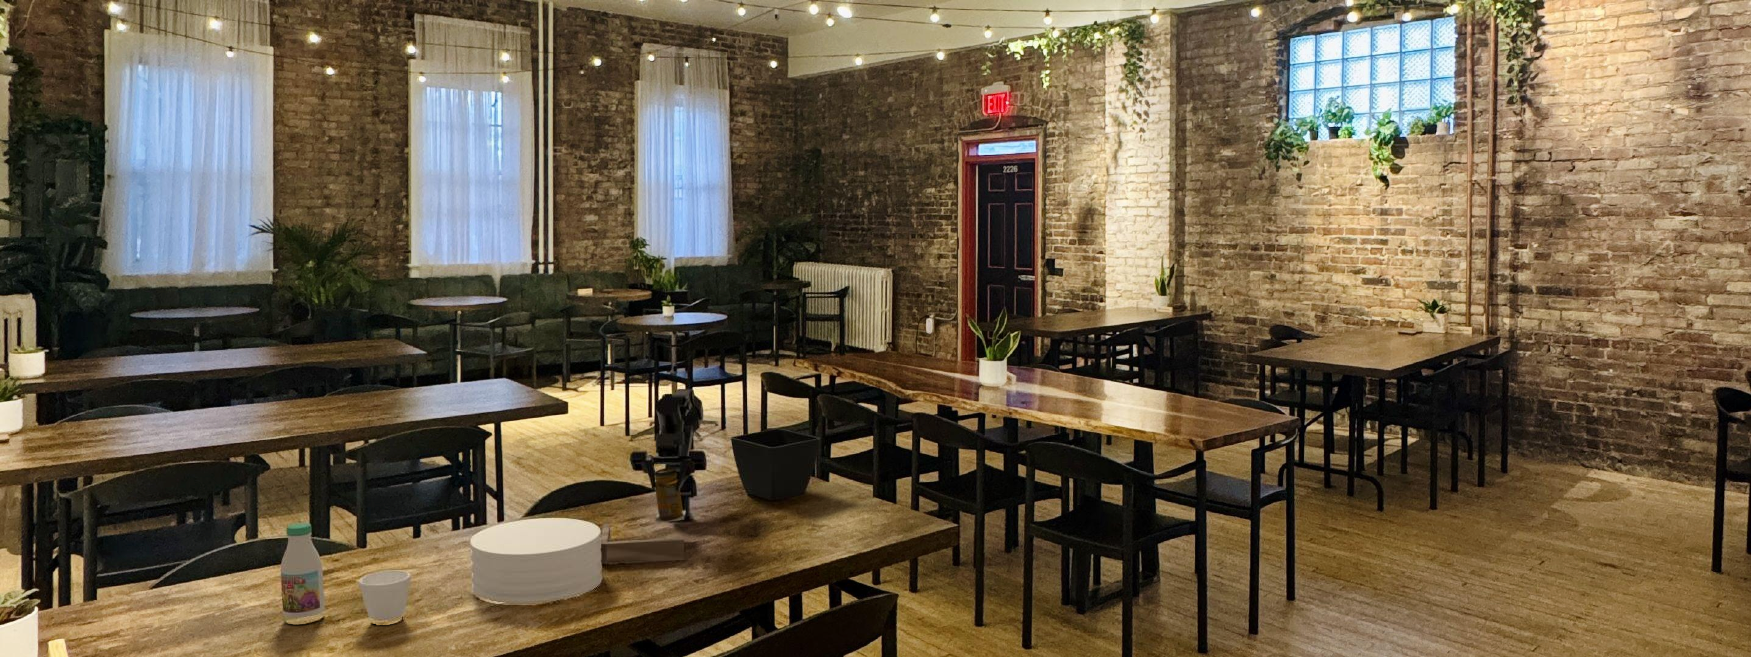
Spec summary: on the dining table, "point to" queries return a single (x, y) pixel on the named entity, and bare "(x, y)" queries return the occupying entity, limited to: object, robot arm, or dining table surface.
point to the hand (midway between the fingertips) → (665, 490)
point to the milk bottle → (301, 574)
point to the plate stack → (536, 560)
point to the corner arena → (640, 549)
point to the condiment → (668, 496)
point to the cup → (385, 593)
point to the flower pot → (775, 462)
